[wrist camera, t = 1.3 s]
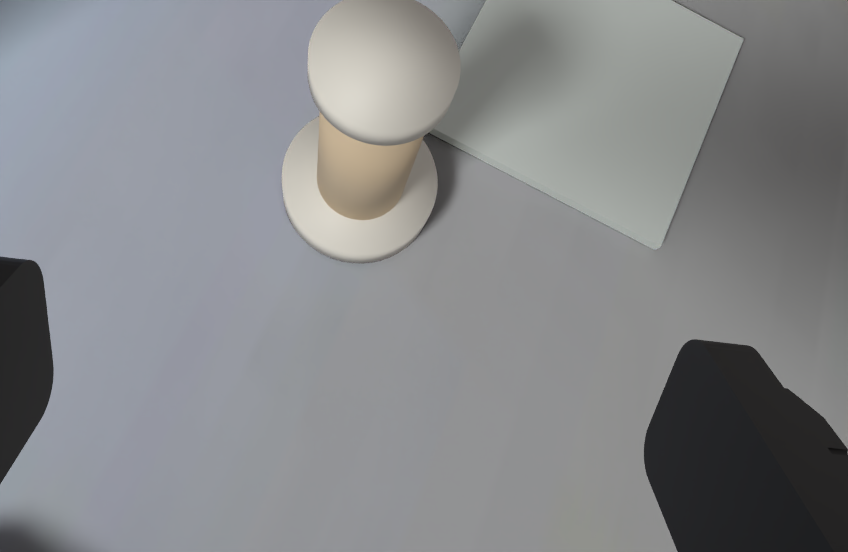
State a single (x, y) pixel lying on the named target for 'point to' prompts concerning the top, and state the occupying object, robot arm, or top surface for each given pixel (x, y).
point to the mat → (592, 102)
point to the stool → (370, 128)
